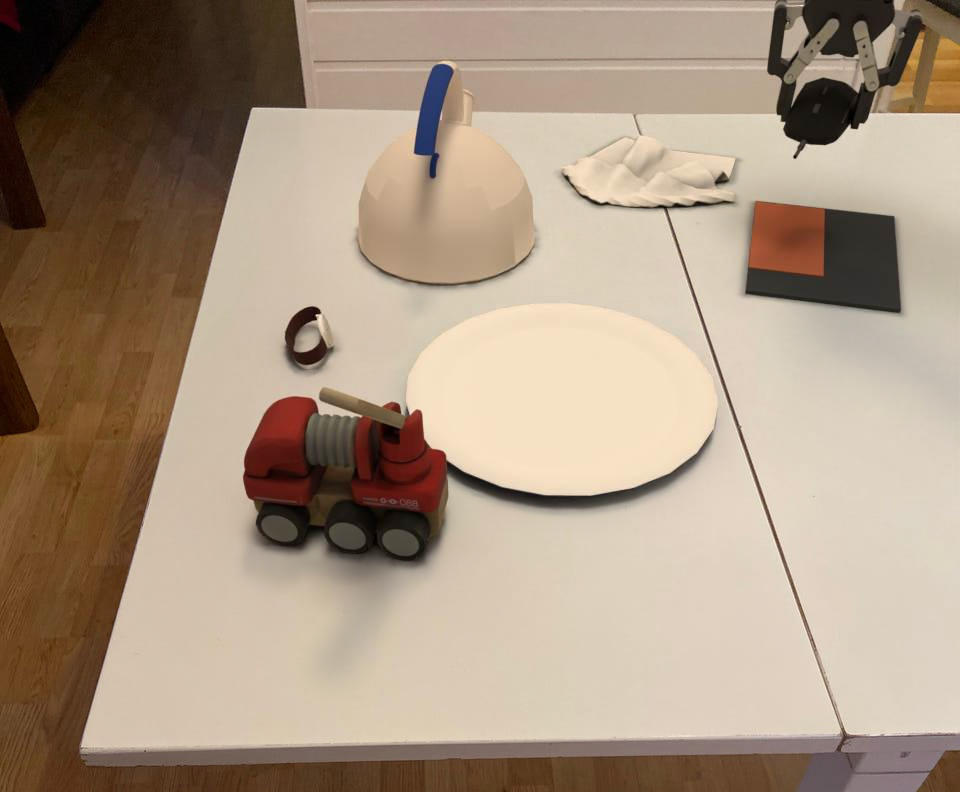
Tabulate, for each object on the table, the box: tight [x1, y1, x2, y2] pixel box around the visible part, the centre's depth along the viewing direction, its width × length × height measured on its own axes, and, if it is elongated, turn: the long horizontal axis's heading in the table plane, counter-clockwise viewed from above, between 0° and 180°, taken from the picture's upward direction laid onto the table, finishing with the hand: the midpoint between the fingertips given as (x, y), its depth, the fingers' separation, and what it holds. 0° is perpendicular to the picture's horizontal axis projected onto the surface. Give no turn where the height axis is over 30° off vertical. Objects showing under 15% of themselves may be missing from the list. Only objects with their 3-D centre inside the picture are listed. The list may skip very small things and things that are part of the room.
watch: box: [284, 305, 335, 366], centre depth 95 cm, size 8×5×4 cm, turn 7°
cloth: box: [560, 134, 736, 208], centre depth 118 cm, size 20×22×2 cm
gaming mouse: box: [782, 77, 859, 160], centre depth 98 cm, size 6×15×4 cm, turn 152°
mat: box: [744, 200, 902, 314], centre depth 108 cm, size 16×20×1 cm
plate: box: [405, 302, 720, 498], centre depth 90 cm, size 29×29×2 cm
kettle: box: [357, 60, 536, 285], centre depth 103 cm, size 20×21×18 cm
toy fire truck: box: [242, 386, 449, 561], centre depth 73 cm, size 11×16×18 cm
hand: (819, 122), depth 99 cm, fingers closed on gaming mouse, 6 cm apart
